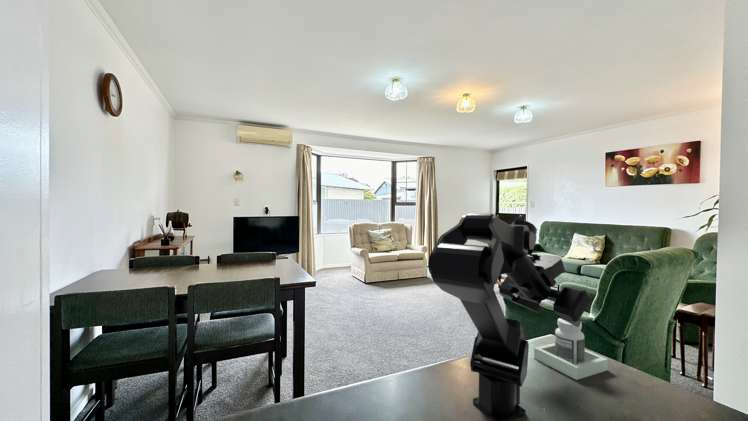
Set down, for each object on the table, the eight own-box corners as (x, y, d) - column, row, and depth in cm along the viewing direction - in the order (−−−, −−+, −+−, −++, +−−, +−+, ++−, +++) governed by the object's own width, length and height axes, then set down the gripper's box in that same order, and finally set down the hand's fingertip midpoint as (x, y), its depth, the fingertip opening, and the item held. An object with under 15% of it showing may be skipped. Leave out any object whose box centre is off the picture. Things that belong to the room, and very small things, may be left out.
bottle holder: (576, 380, 65) (576, 368, 65) (534, 358, 75) (534, 347, 75) (607, 370, 69) (607, 359, 69) (563, 350, 79) (563, 340, 78)
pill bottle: (575, 359, 74) (576, 317, 74) (590, 371, 69) (590, 326, 68) (550, 358, 75) (550, 316, 75) (562, 370, 69) (562, 325, 69)
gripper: (585, 248, 59) (621, 301, 64) (508, 239, 77) (540, 281, 81) (555, 294, 56) (595, 346, 61) (482, 274, 74) (517, 315, 78)
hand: (558, 318), depth 70 cm, fingers open, 9 cm apart
